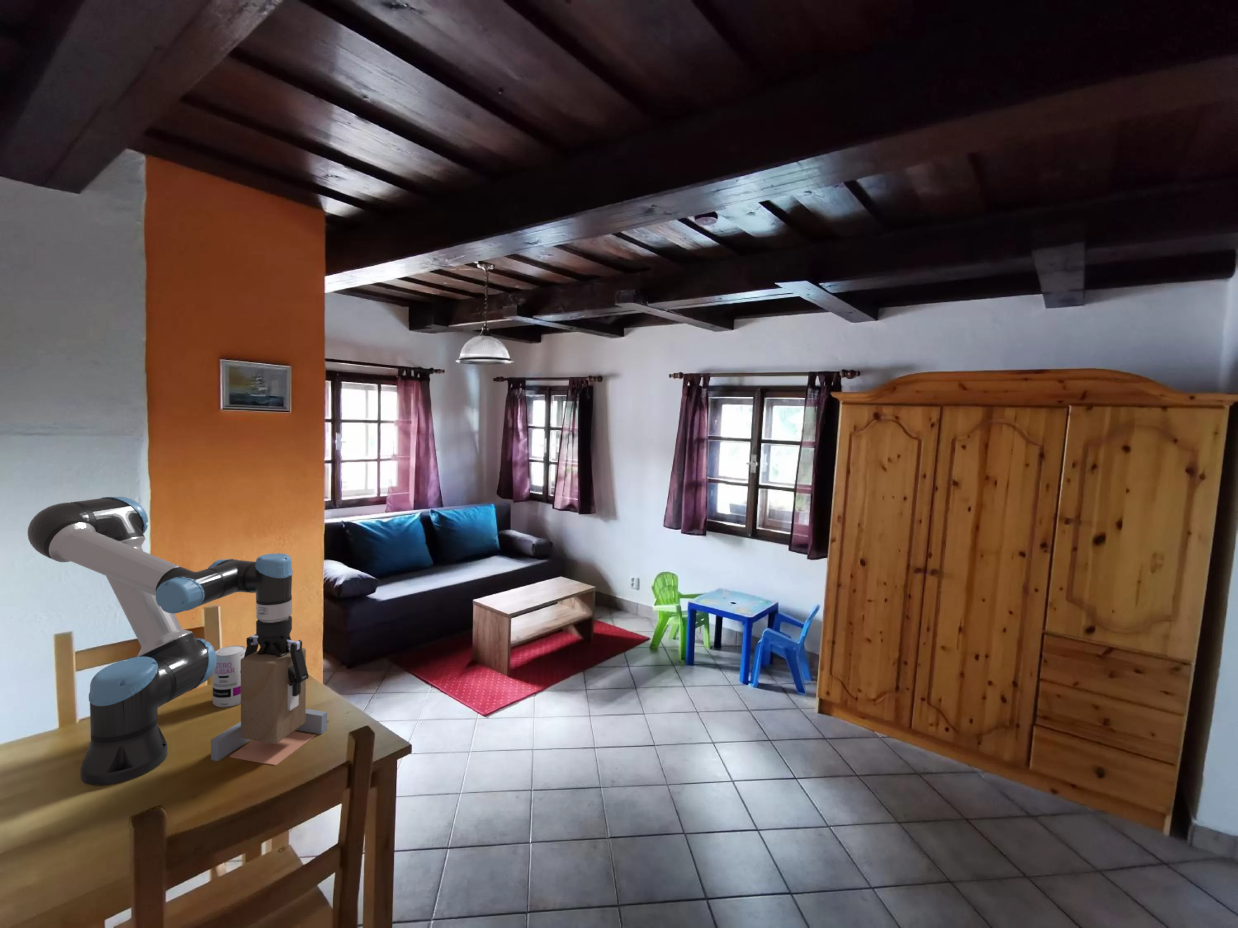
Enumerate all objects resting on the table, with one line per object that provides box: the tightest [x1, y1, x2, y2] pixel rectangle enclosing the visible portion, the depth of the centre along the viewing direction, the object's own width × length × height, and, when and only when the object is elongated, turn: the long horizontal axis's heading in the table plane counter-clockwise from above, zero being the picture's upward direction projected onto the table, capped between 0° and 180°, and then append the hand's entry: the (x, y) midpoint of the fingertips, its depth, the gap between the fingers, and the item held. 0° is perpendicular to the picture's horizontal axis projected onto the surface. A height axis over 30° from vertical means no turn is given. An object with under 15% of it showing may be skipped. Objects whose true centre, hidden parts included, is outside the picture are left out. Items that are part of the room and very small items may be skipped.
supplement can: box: [212, 645, 246, 708], centre depth 159 cm, size 8×8×15 cm
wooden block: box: [240, 647, 307, 744], centre depth 139 cm, size 10×10×20 cm
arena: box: [210, 708, 328, 766], centre depth 141 cm, size 18×18×5 cm
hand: (274, 704), depth 139 cm, fingers closed on wooden block, 10 cm apart
